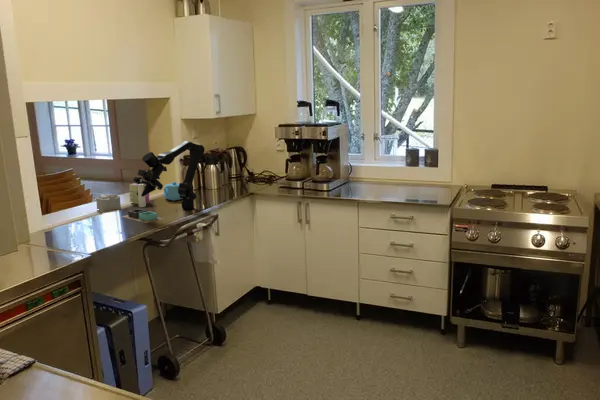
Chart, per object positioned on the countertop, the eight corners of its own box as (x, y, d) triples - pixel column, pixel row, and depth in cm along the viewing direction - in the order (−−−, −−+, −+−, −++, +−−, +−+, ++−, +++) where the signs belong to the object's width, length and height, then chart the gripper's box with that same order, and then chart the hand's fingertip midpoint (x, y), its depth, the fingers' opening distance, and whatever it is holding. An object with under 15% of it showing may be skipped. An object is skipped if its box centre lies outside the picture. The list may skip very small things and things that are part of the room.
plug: (145, 205, 279) (144, 183, 277) (145, 206, 276) (144, 184, 274) (138, 205, 278) (137, 183, 276) (138, 207, 275) (137, 185, 272)
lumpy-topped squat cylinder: (94, 209, 300) (93, 195, 298) (115, 206, 310) (114, 192, 308) (104, 212, 293) (103, 197, 292) (124, 208, 303) (123, 194, 301)
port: (139, 219, 276) (138, 213, 275) (149, 216, 281) (149, 211, 280) (147, 221, 272) (146, 215, 271) (157, 218, 277) (157, 213, 276)
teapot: (194, 198, 334) (193, 181, 331) (169, 202, 321) (169, 184, 318) (183, 195, 342) (182, 179, 340) (159, 199, 329) (158, 182, 327)
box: (149, 202, 320) (148, 184, 318) (144, 204, 315) (143, 185, 312) (135, 201, 323) (134, 183, 320) (129, 203, 317) (128, 184, 315)
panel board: (121, 218, 281) (120, 211, 280) (139, 214, 290) (139, 207, 289) (146, 224, 268) (146, 217, 267) (164, 220, 278) (164, 213, 277)
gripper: (135, 162, 281) (119, 184, 274) (157, 165, 270) (141, 188, 264) (147, 174, 289) (132, 196, 282) (169, 178, 278) (154, 201, 272)
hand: (139, 195), depth 275 cm, fingers closed on plug, 4 cm apart
